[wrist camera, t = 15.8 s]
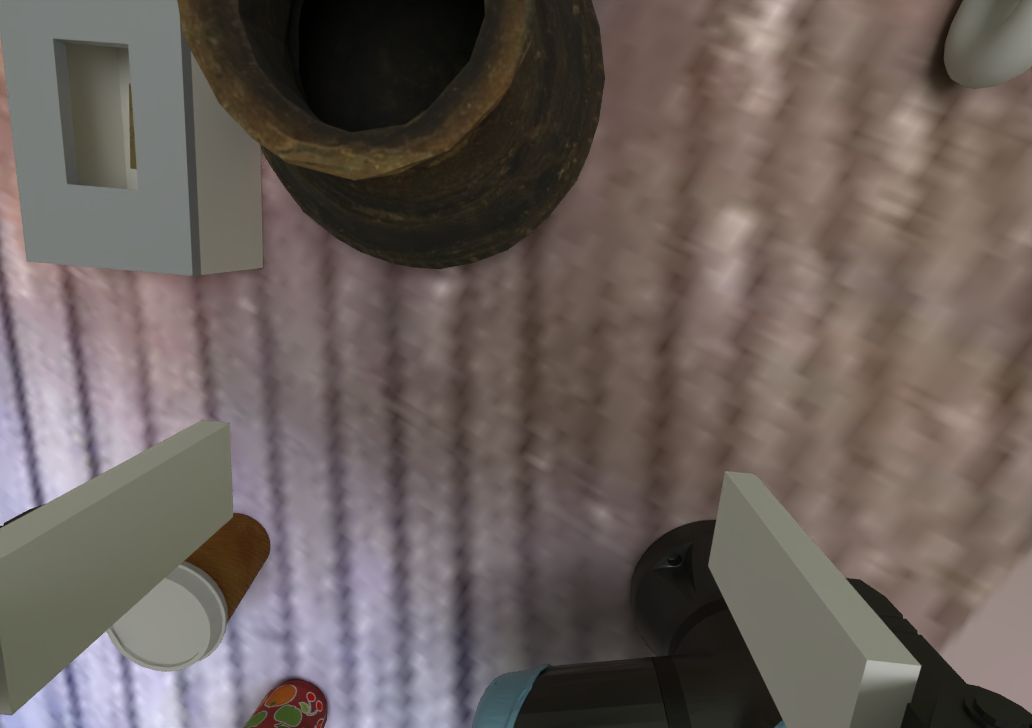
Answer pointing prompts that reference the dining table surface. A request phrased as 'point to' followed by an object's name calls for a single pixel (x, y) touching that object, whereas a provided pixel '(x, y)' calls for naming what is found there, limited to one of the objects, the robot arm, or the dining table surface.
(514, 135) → the ceramic pot
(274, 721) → the smoothie
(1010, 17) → the donut
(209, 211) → the box
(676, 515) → the dining table surface
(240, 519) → the disposable coffee cup
